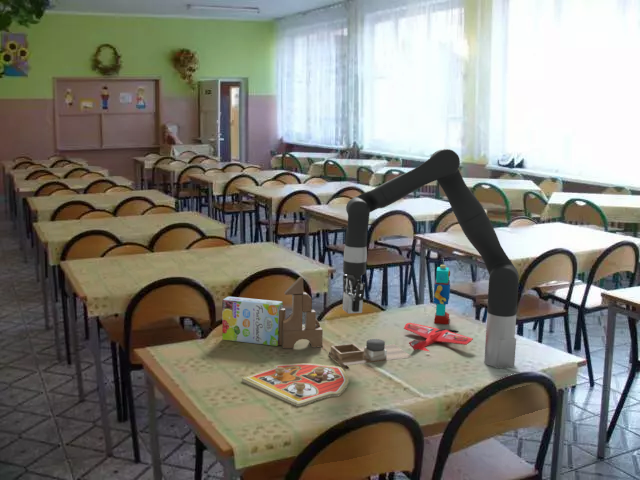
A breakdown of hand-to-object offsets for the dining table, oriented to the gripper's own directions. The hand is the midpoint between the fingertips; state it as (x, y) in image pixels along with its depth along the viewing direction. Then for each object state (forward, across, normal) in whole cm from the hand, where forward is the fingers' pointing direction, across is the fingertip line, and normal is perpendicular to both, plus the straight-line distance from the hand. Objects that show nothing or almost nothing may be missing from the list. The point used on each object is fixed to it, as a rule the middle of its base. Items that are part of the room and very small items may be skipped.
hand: (352, 308), depth 248 cm
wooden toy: (+17, +16, +13) cm, 27 cm away
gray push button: (+15, -6, -7) cm, 17 cm away
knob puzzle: (+18, -17, +21) cm, 32 cm away
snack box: (+18, +25, +27) cm, 41 cm away
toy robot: (+16, +28, -50) cm, 59 cm away
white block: (+1, 0, 0) cm, 1 cm away
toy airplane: (+16, +1, -31) cm, 35 cm away
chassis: (+16, -3, -6) cm, 18 cm away
